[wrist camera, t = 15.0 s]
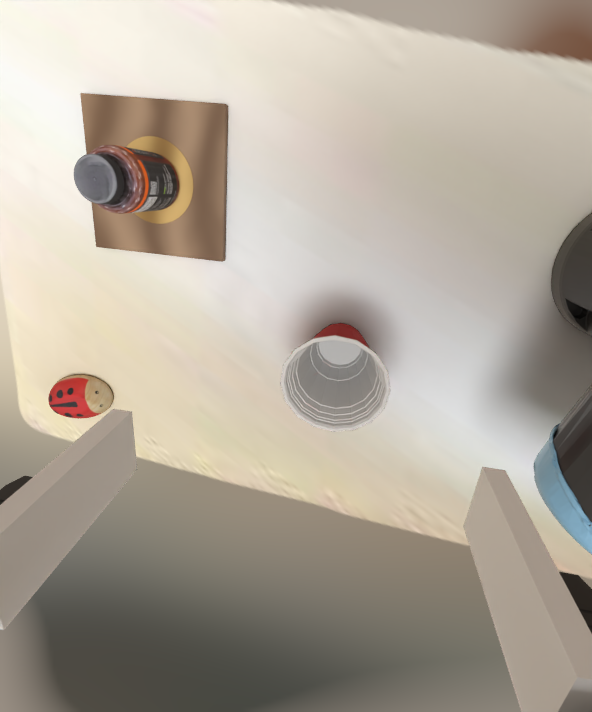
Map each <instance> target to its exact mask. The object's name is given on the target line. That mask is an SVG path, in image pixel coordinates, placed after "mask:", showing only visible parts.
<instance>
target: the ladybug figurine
mask: <svg viewBox="0 0 592 712" xmlns="http://www.w3.org/2000/svg"><path fill="white" fill-rule="evenodd" d="M112 401H113V394H112V391H111V389H110V388H109V387H108V385H107V384H106V383H104V382H103V381H101V380H99V379H97V378H95V377H92V376H87V375H72V376H68V377H65V378H63V379H61V380H59V381H58V382H57V383H56V384H55V385H54V386H53V388H52V389H51V391H50V394H49V405H50V407H51V408H52V410H53V411H55V412H56V413H58V414H60V415H63V416H66V417H71V418H89V417H93V416H96V415H99V414H101V413H103V412H104V411H106V410H107V409H108V408H109V407H110V406H111V404H112Z"/></svg>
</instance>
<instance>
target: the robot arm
mask: <svg viewBox="0 0 592 712" xmlns="http://www.w3.org/2000/svg"><path fill="white" fill-rule="evenodd" d="M552 293H553V297H554V301H555V303H556V306H557V308H558V309H559V311H560V313H561V314H562V315H563V316H564V318H565V319H566V320H567V321H568V322H569V323H571V324H572V325H573V326H575V327H576V328H578V329H580V330H581V331H583V332H585V333H587V334H588V335H590V336H592V213H591V214H590V215H589V216H587V217H586V218H585V219H584V220H583V221H582V222H581V223H580V224H579V225H578V226H577V227H576V228H575V229H574V230H573V231H572V232H571V234H570V235H569V236H568V238H567V239H566V240H565V242H564V244H563V245H562V247H561V249H560V251H559V253H558V255H557V258H556V260H555V264H554V267H553V272H552ZM136 470H137V463H136V452H135V440H134V429H133V418H132V412H130V411H124V410H118V409H113V410H112V411H110V412H109V413H108V414H107V415H106V416H104V417H103V418H102V419H101V420H100V421H99V422H97V423H96V424H95V425H94V426H93V427H92V428H90V429H89V430H88V431H87V432H86V433H84V434H83V435H82V436H81V437H80V438H79V439H77V440H76V441H75V442H74V443H73V444H72V445H70V446H69V447H68V448H67V449H66V450H64V451H63V452H62V453H61V454H60V455H59V456H58V457H56V458H55V459H54V460H53V461H52V462H50V463H49V464H48V465H47V466H46V467H44V468H43V469H42V470H41V471H40V472H39V473H37V474H36V475H35V476H34V477H29V476H23V477H21V478H20V479H17V480H15V481H13V482H11V483H9V484H8V485H6V486H4V487H3V488H2V489H1V490H0V629H2V630H5V628H6V627H7V626H8V625H9V623H10V622H11V621H12V620H13V619H14V617H15V616H16V615H17V614H18V613H19V611H20V610H21V609H22V608H23V607H24V605H25V604H26V603H27V602H28V601H29V599H30V598H31V597H32V596H33V595H34V593H35V592H36V591H37V590H38V588H39V587H40V586H41V585H42V584H43V582H44V581H45V580H46V579H47V577H48V576H49V575H50V574H51V573H52V572H53V570H54V569H55V568H56V567H57V566H58V564H59V563H60V562H61V561H62V559H63V558H64V557H65V556H66V555H67V553H68V552H69V551H70V550H71V549H72V547H73V546H74V545H75V544H76V543H77V541H78V540H79V539H80V538H81V536H82V535H83V534H84V533H85V532H86V530H87V529H88V528H89V527H90V526H91V524H92V523H93V522H94V521H95V520H96V518H97V517H98V516H99V514H100V513H101V512H102V511H103V510H104V509H105V507H106V506H107V505H108V504H109V503H110V501H111V500H112V499H113V498H114V497H115V495H116V494H117V493H118V492H119V491H120V489H121V488H122V487H123V486H124V485H125V483H126V482H127V481H128V480H129V478H130V477H131V476H132V475H133V474H134V472H135V471H136ZM534 472H535V473H534V474H535V476H534V478H535V482H536V485H537V488H538V491H539V493H540V495H541V497H542V499H543V500H544V502H545V504H546V505H547V507H548V508H549V510H550V511H551V512H552V514H553V515H554V516H555V518H556V519H557V520H558V522H559V523H560V524H561V525H562V526H563V527H564V529H565V530H566V531H567V532H568V533H569V534H570V535H571V536H572V537H573V538H574V539H575V540H576V541H577V542H578V543H579V544H580V545H581V546H582V547H583V548H585V549H586V550H587V551H588V552H589V553H591V554H592V385H591V386H590V387H589V389H588V390H587V391H586V392H585V394H584V395H583V396H582V397H581V398H580V400H579V401H578V402H577V403H576V405H575V406H574V407H573V408H572V409H571V411H570V412H569V413H568V414H567V416H566V417H565V418H564V419H563V421H562V422H561V423H560V424H558V425H556V426H555V427H554V428H553V430H552V432H551V434H550V438H549V440H548V441H547V443H546V444H545V445H544V447H543V448H542V450H541V451H540V452H539V454H538V455H537V457H536V459H535V462H534ZM464 530H465V533H466V536H467V539H468V542H469V546H470V548H471V552H472V555H473V558H474V562H475V565H476V568H477V571H478V574H479V578H480V581H481V584H482V587H483V590H484V593H485V597H486V600H487V603H488V606H489V609H490V613H491V616H492V619H493V622H494V626H495V629H496V632H497V635H498V638H499V642H500V645H501V648H502V651H503V654H504V658H505V661H506V664H507V667H508V670H509V674H510V677H511V679H512V683H513V686H514V690H515V693H516V696H517V699H518V702H519V706H520V709H521V712H592V589H591V588H590V587H589V586H588V585H587V584H586V583H585V582H584V581H583V580H582V579H581V578H580V577H579V576H578V575H574V574H568V573H563V572H559V571H558V569H557V567H556V565H555V563H554V562H553V560H552V558H551V556H550V554H549V552H548V550H547V548H546V546H545V545H544V543H543V541H542V539H541V537H540V535H539V533H538V531H537V529H536V528H535V526H534V524H533V522H532V520H531V518H530V516H529V514H528V512H527V511H526V509H525V507H524V505H523V503H522V501H521V499H520V497H519V495H518V494H517V492H516V490H515V488H514V486H513V484H512V482H511V480H510V479H509V477H508V475H507V473H506V471H505V470H499V469H493V468H487V467H482V470H481V473H480V476H479V479H478V482H477V486H476V489H475V492H474V495H473V498H472V501H471V504H470V507H469V510H468V514H467V517H466V520H465V523H464Z"/></svg>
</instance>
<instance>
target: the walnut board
mask: <svg viewBox="0 0 592 712" xmlns="http://www.w3.org/2000/svg"><path fill="white" fill-rule="evenodd" d="M81 103H82V113H83V123H84V132H85V142H86V152H87V154H89V153H90V152H91V151H93V150H94V149H95V148H97V147H99V146H103V145H117V146H122V147H128V148H133V149H138V150H143V151H149V152H153V153H157V154H159V155H162V156H163V157H165V158H166V159H167V160H168V161H169V162H170V163H171V164H172V165H173V167H174V168H175V170H176V172H177V175H178V179H179V192H178V195H177V198H176V200H175V201H174V203H173V204H172V205H171V206H169V207H168V208H165V209H163V210H158V211H146V212H135V213H123V214H119V213H112V212H109V211H107V210H105V209H103V208H101V207H100V206H98V205H97V204H96V203H93V202H92V210H93V219H94V229H95V239H96V247H103V248H111V249H120V250H128V251H137V252H146V253H154V254H163V255H171V256H180V257H188V258H197V259H206V260H214V261H225V243H226V190H227V138H228V106H227V105H226V104H218V103H205V102H191V101H178V100H164V99H151V98H137V97H124V96H110V95H97V94H83V93H81Z"/></svg>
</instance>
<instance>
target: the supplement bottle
mask: <svg viewBox="0 0 592 712" xmlns="http://www.w3.org/2000/svg"><path fill="white" fill-rule="evenodd" d="M74 180H75V183H76V186H77V188H78V190H79V191H80V193H81V194H82V195H83V196H84V197H85V198H86V199H87V200H89V201H91V202H93V203H96V204H97V205H98V206H100V207H101V208H103V209H105V210H107V211H109V212H112V213H119V214H123V213H135V212H146V211H158V210H163V209H165V208H168V207H169V206H171V205H172V204H173V203H174V201H175V200H176V198H177V195H178V192H179V179H178V175H177V172H176V170H175V168H174V167H173V165H172V164H171V163H170V162H169V161H168V160H167V159H166V158H165V157H163V156H162V155H159V154H157V153H153V152H149V151H143V150H138V149H133V148H128V147H122V146H117V145H103V146H99V147H97V148H95V149H94V150H93V151H91V152H90V153H89V154H87V155H84V156H82V157H81V158H80V159H79V160H78V161H77V163H76V165H75V168H74Z"/></svg>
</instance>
